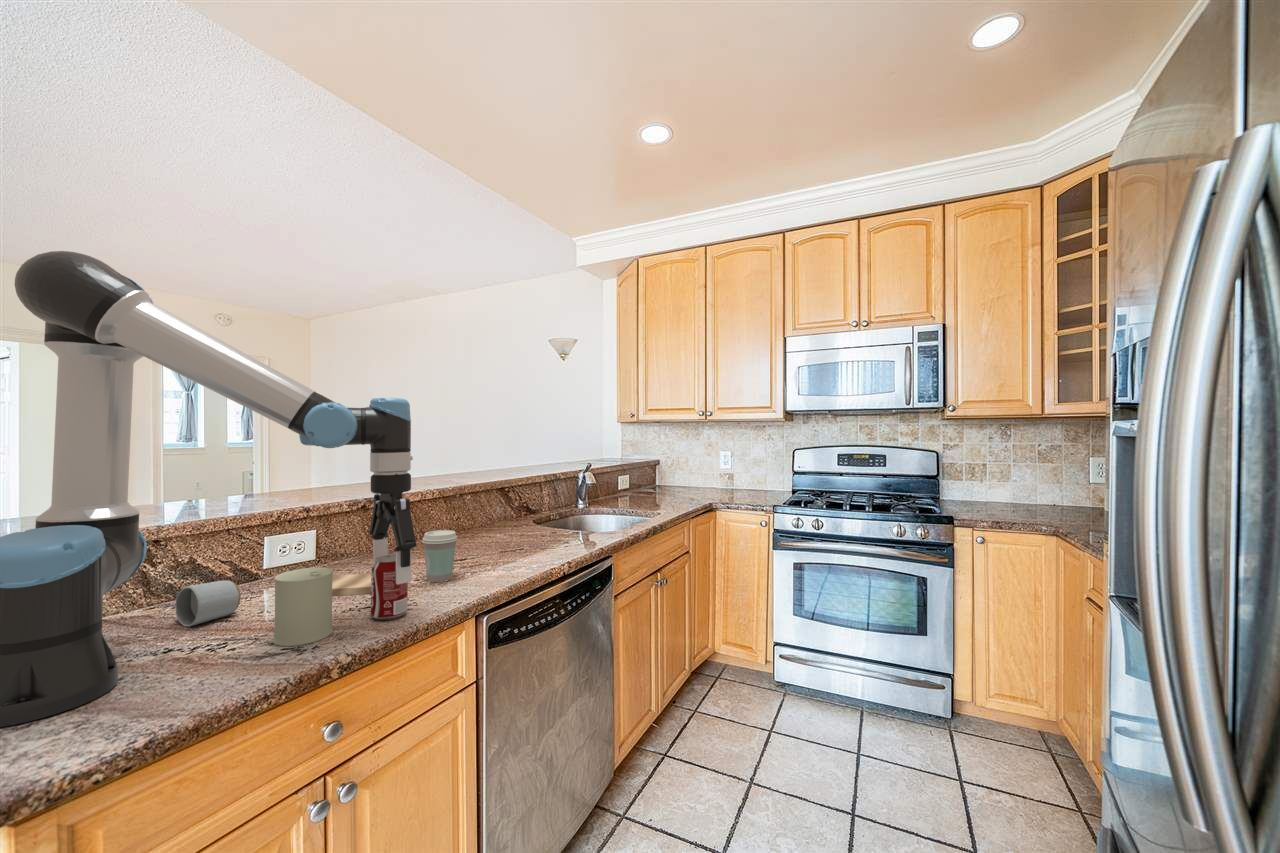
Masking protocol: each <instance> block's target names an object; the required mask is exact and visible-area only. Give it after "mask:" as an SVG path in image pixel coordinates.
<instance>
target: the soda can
mask: <svg viewBox="0 0 1280 853" xmlns="http://www.w3.org/2000/svg"><path fill="white" fill-rule="evenodd" d="M370 572H371V573H370V574H371V594H370V617H371V618H374V619H375V620H377V621H391V620H396V619H399V618H401V617H403V615H405V614H407V613H408V596H409V595H408V592H409V590H408V586H409V584H408V583H409V582H407V583H402V584H398V585H397V584H396V554H388V555H385V556H380V557H377V558H375V563H374V565H373V564H372V566H371V569H370Z"/></svg>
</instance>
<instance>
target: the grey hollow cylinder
mask: <svg viewBox="0 0 1280 853" xmlns="http://www.w3.org/2000/svg"><path fill="white" fill-rule="evenodd" d="M241 599H242V598H241V591H240V588H239V586H238V584H236V582H234V581H232V580H218V581H217V580H216V581H211V582H204V583H200V584H191V585H187V586H184V587H183V588H182V589H180V590H179V592H178V594H177V596H176V599H175V603H174V605H175V607H174V608H175V610H174V611H175V616H176V618H177V620H178V622H179V623H180V625H182V626H184V627H186V626H187V627H193V626H197V625H200V624H204V623H207V622H210V621H213V620H217V619H220V618H221V619H222V618H224V617H227V616H229V615H231V614H233V613H234V612H236V611H237V609H238V607H239V606H240V603H241Z"/></svg>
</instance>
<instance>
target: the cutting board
mask: <svg viewBox="0 0 1280 853" xmlns="http://www.w3.org/2000/svg"><path fill="white" fill-rule="evenodd" d="M353 595H354V596H357V595H371V573H359V574H358V573H357V574H336V575H334V574H333V578H332V597H333V596H337V597H338V596H353Z"/></svg>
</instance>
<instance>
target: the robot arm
mask: <svg viewBox="0 0 1280 853" xmlns="http://www.w3.org/2000/svg"><path fill="white" fill-rule="evenodd" d="M14 276H15V277H14V288H15V293H16V295H17V298H18V299H19V301H20V302H21V303H22V305H23V306H24V307H25V308H26V309H27V311H29V312H30V313H32V315H33V316H35V317H37V318H38V319H40V320H42V321H43V322H44V325H45V326H44V340H43V342H44V346H45V347H46V348H48V349H50V351H51V352H52V353H54V354H55V355H56V356H57V359H58V360H57V380H56V381H57V382H56V400H55V419H54V420H55V422H54V441H53V444H54V445H53V460H52V461H53V462H52V463H53V464H52V465H53V466H52V481H51V482H52V483H51V484H52V485H51V503H50V504H51V505H50V507H48V508H47V509H46V510H45V511H44V512H42V513H41V514H40V515H38V516H37V517H36V518H35V528H31V529H26V530H25V531H16V532H13V533H8V534H5V535H2V536H0V728H3V727H8V726H15V725H18V724H25V723H28V722H31V721H33V722H34V721H36V720H40V719H43V718H47V717H50V716H53V715H57V714H60V713H63V712H66V711H69V710H71V709H74V708H77V707H79V706H82V705H84V704H87V703H89V702H91V701H94V700H96V699H97V698H100V697H101V696H103V695H105V694H106V693H108V692H109V691H111V690H112V689H113V688H115V687H116V685H117V684H118V682H119V665H118V663H117V661H116V659H115V657H114V656H115V655H114V654H113V652H112V651H111V648H110V646H109V644H108V642H107V640H106V637H105V636H104V634H103V607H104V606H103V605H104V602H103V601H104V600H103V599H104V595H105V594H107V593H108V592H110V591H113V590H115V589H117V588H118V587H120V586H123V585H124V584H125V583H126V582H127V581H129V580H130V579H131V578H132V577H133V576H134V575H135V574H136V572H138V570H139V569H140V567H141V566H142V565H143V563H144V561H145V559H146V556H147V550H148V546H147V545H148V544H147V541H146V538H145V536H144V534H143V532H142V531H141V530H139V529H140V510H139V509H137V508H136V507H134V506H132V505H131V504H130V503H129V502H128V500H129V477H130V455H131V454H130V453H131V452H130V451H131V431H132V430H131V429H132V411H133V410H132V409H133V408H132V407H133V406H132V405H133V389H134V388H133V386H134V385H133V384H134V364H135V363H136V362H137V361H139V360H140V359H141V358H143V357H145V358H147V359H149V360H150V361H152V362H154V363H156V364H159V366H162V367H163V368H166V369H168V370H170V371H171V372H175V373H176V374H179V375H181V376H182V377H185V378H186V379H189V380H190V381H192V382H194V383H196V384H199V385H201V386H202V387H205V388H207V389H208V390H210V391H213V392H215V393H217V394H219V395H221V396H222V397H224V398H226V399H228V400H231V401H233V402H235V403H237V404H239V405H241V406H243V407H245V408H247V409H249V410H251V411H253V412H254V413H257V414H258V415H261V416H262V417H265V418H267V419H269V420H271V421H273V422H274V423H276V424H278V425H281V426H283V427H285V428H287V429H289V430H290V431H292V432H294V433H296V434H298V435H299V441H300V443H301V444H302V445H304V446H310V447H311V446H313V447H314V446H316V447H321V448H324V449H336V448H340V447H344V446H356V445H358V446H359V445H361V446H363V445H369V446H370V452H369V456H370V457H369V469H370V471H369V472H371V473H373V474H372V475H371V476H370V492H371V493H372V494H374V495H373V508H372V514H371V519H370V520H371V521H370V526H369V532H368V533H369V535H370V536H371V539H372V540H373V541H372V543H373V544H372V548H373V549H372V550H373V551H372V552H373V553H372V555H373V556H372V558H373V559H372V561H373V564H372V566H373V565H374V563H375V558H377V557H380V556H385V555H389V549H388V548H389V541H388V540H389V539H388V538H389V537H390V535H389V532H388V531H389V529H390V525H391V529H392V533H393V537H394V540H395V543H396V544H395V545H396V546H395V548H394V549H393V551H394V552H395V555H396V584H397V585H398V584H402V583H407V582H408V583H411V582H412V550H413V549H414V548H416V547H417V542H416V535H415V531H414V524H413V519H412V512H411V501H410V498H408V497H407V498H404V497H403V493H404V492H405V493H408V492H409V491H411V490H412V475H411V474H410V473H409V471H411V469H412V468H411V467H412V465H411V461H413V460H414V459H413V456H412V455H411V451H412V450H411V449H412V448H411V446H412V443H411V442H412V437H411V436H412V419H411V405H410V402H409V401H408V400H407V399H406V398H400V397H399V398H398V397H374V398H371V399H370V402H369V406H367V407H346V406H345V405H343V404H341V403H339V402H338V403H337V402H335V401H333V400H332V399H329V398H328V397H326V396H324V395H322V394H320V393H318V392H316V390H313V389H311V388H310V387H308V386H306V385H304V384H302V383H300V382H299V381H297V380H294V379H293V378H291V377H289V376H287V375H285V374H284V373H282V372H280V371H278V370H276V369H274V368H273V367H271V366H269V365H268V364H266V363H264V362H261V360H258V359H256V358H254V357H252V356H250V355H248V354H247V353H245V352H243V351H241V350H239V349H238V348H236V347H234V346H232V345H230V344H228V343H227V342H225V341H223V340H221V339H219V338H217V337H216V336H214V335H212V334H211V333H209V332H206V331H205V330H203V329H201V328H200V327H197V326H196V325H193V324H192V323H190V322H188V321H186V320H184V319H182V318H181V317H179V316H177V315H175V314H173V313H172V312H169V311H168V310H167V309H164V308H163V307H160V306H159V305H156V304H154V302H153V300H152V298H151V297H150V295H149V293H148V292H147V291H145V289H144V288H143V287H142V286H140V284H138V283H137V282H136V281H134V280H133V279H131V278H129V277H127V276H125V275H123V274H122V273H120V272H118V271H117V270H116V269H114V268H113V267H112V266H110V265H109V264H107V263H105V262H104V261H102V260H100V259H98V258H95V257H93V256H90V255H87V254H85V253H84V254H83V253H80V252H75V251H67V250H55V251H53V250H52V251H48V252H42V253H39V254H36V255H35V256H32V257H31V258H29V259H26V261H24V263H22V264H21V265H20V267H19V268H18V270H17V271H16V274H15V275H14Z"/></svg>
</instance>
